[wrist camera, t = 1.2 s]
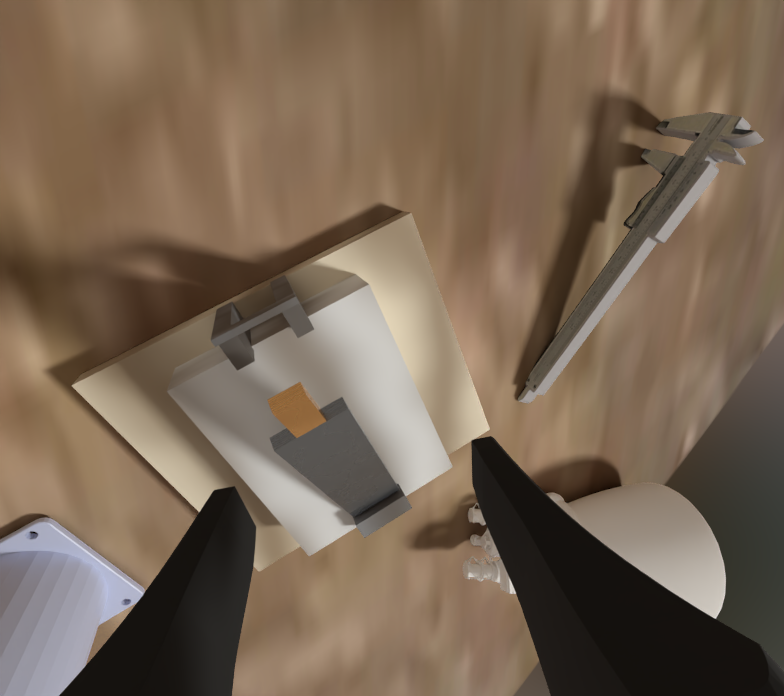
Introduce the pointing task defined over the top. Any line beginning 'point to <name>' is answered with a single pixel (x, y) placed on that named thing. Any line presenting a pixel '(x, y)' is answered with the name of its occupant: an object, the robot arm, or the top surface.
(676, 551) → the rocket engine
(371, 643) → the top surface
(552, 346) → the caliper
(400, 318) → the base board
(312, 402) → the grey flat bar
